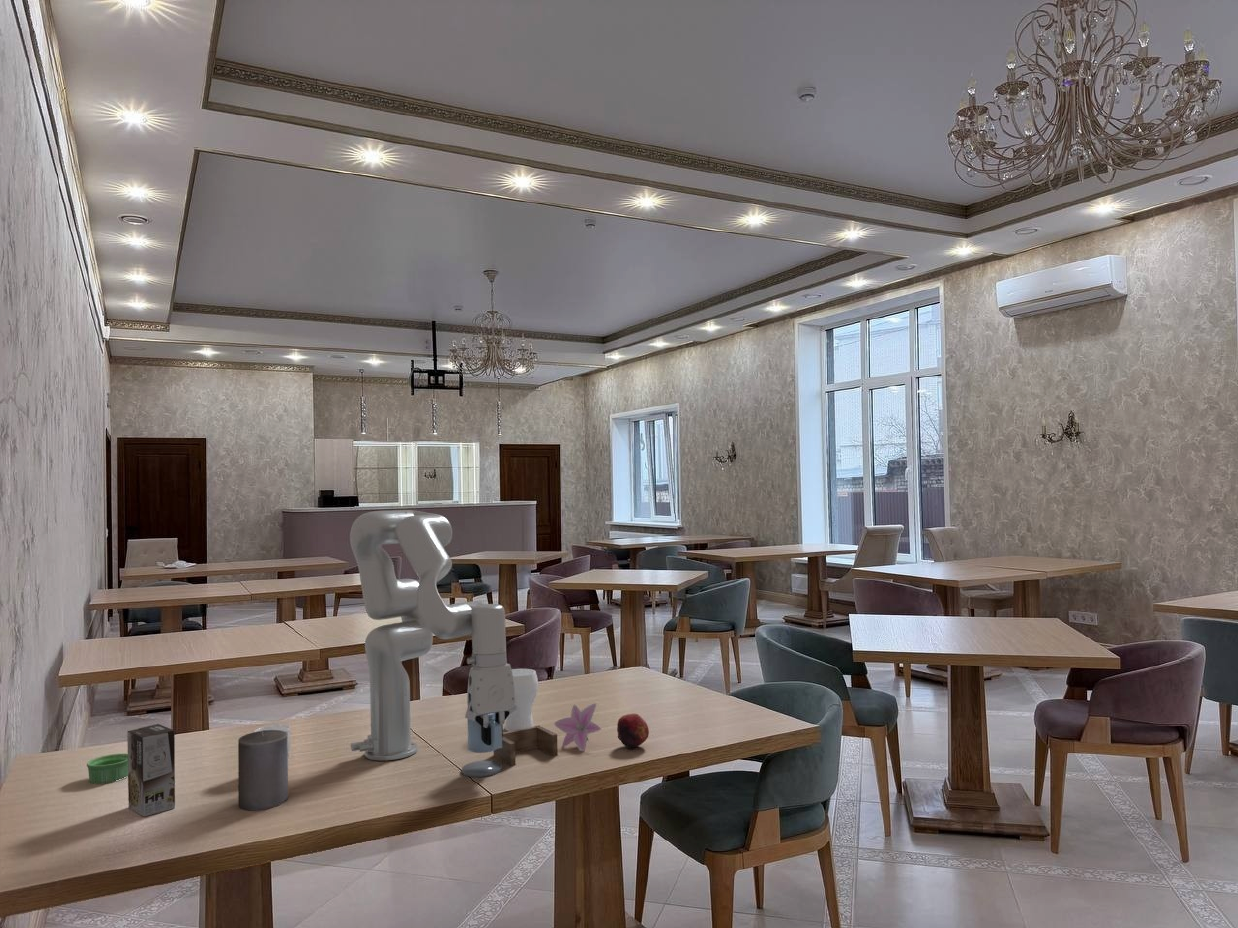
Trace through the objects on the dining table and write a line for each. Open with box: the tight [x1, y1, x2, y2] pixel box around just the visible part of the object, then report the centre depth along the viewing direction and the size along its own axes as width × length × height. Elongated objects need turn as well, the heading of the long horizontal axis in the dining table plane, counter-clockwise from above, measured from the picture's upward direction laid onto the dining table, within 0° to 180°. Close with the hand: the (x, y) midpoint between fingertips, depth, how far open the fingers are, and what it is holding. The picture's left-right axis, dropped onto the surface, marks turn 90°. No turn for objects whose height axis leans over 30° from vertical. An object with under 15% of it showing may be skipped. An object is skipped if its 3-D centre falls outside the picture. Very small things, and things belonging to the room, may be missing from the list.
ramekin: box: [86, 753, 128, 784], centre depth 192 cm, size 9×9×4 cm
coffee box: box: [126, 723, 176, 818], centre depth 172 cm, size 9×6×16 cm
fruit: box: [616, 713, 650, 749], centre depth 204 cm, size 8×8×8 cm
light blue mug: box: [467, 713, 502, 754], centre depth 187 cm, size 7×12×8 cm, turn 33°
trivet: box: [461, 760, 503, 778], centre depth 189 cm, size 9×9×1 cm
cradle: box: [493, 725, 559, 766], centre depth 200 cm, size 12×10×5 cm
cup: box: [504, 668, 539, 732], centre depth 223 cm, size 11×11×15 cm
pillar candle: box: [237, 730, 289, 811], centre depth 174 cm, size 10×10×15 cm
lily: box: [553, 703, 602, 752], centre depth 207 cm, size 12×12×10 cm
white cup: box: [253, 724, 291, 760], centre depth 192 cm, size 8×8×10 cm
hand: (492, 742), depth 185 cm, fingers closed on light blue mug
